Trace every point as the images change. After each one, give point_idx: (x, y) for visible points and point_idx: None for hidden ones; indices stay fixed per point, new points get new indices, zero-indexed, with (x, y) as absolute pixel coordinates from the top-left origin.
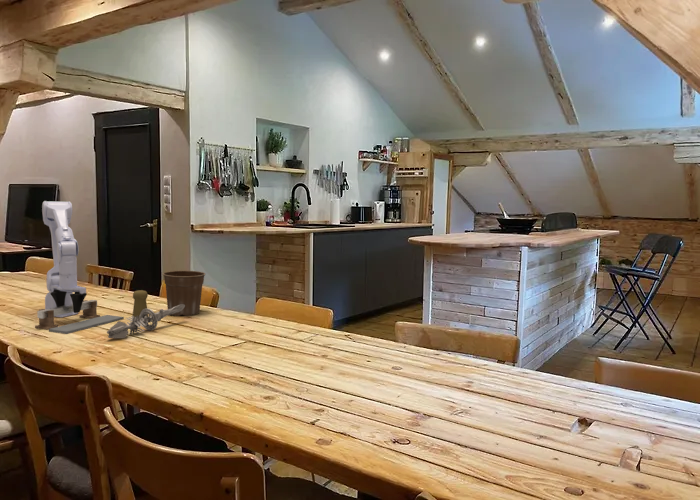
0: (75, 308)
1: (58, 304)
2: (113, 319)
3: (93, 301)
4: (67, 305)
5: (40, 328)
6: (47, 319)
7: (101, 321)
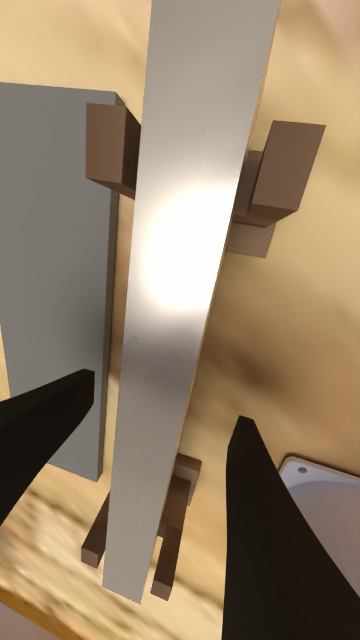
0: (51, 384)
1: (246, 466)
2: None
3: (94, 561)
4: (150, 446)
5: None
6: None
7: (21, 369)
